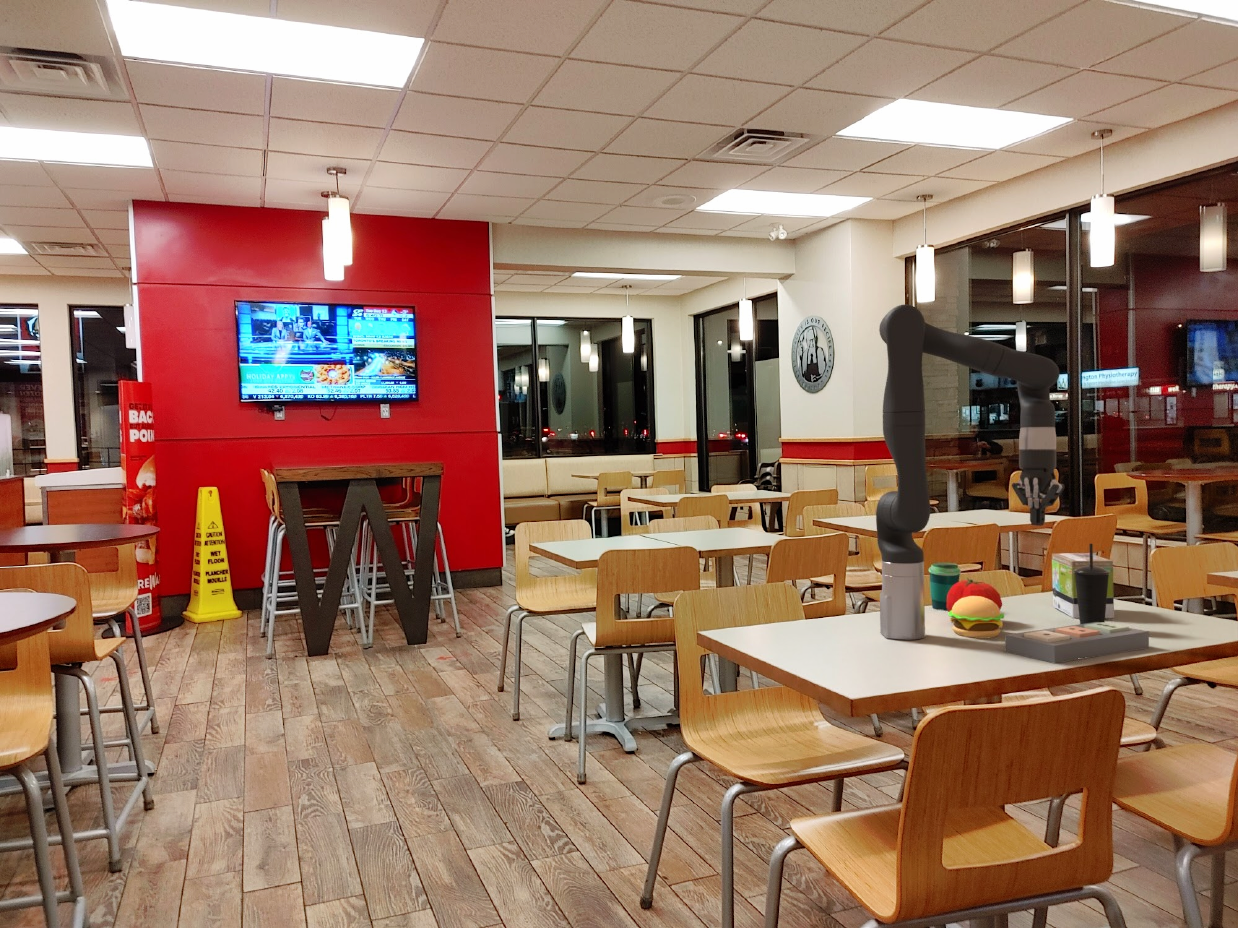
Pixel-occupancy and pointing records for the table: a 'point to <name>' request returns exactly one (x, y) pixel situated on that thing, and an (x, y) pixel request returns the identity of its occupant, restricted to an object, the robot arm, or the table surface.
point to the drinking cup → (1091, 591)
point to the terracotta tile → (1077, 631)
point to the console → (1076, 645)
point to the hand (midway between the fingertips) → (1037, 525)
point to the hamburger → (976, 617)
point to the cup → (942, 582)
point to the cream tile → (1046, 636)
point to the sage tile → (1107, 627)
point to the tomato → (972, 592)
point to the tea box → (1067, 587)
